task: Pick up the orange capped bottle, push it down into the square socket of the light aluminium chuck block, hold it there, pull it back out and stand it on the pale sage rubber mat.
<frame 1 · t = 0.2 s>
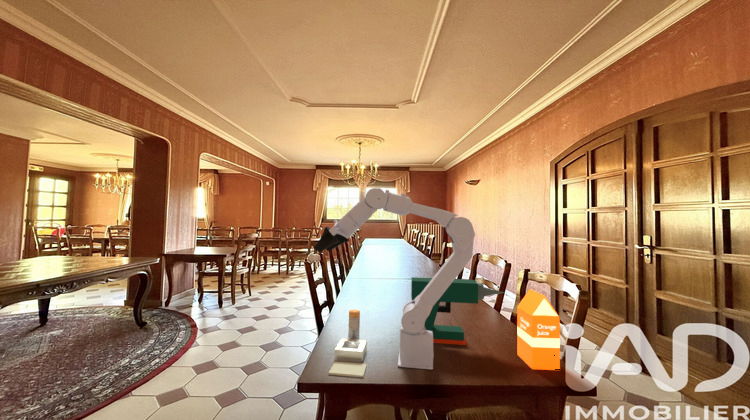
hand: (321, 249, 87), 31 cm above the table, tool tilted 45°, fingers open, 7 cm apart
power tool: (456, 340, 97), on the table
orange capped bottle: (353, 342, 93), on the table
orange juice: (537, 362, 83), on the table
key mat: (348, 370, 76), on the table
chuck block: (351, 355, 84), on the table
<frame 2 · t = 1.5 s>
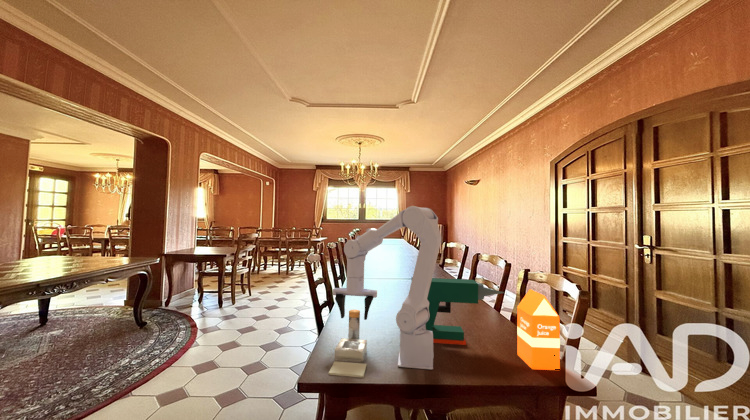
hand: (354, 318, 94), 8 cm above the table, tool pointing down, fingers open, 7 cm apart
nothing on the table moved.
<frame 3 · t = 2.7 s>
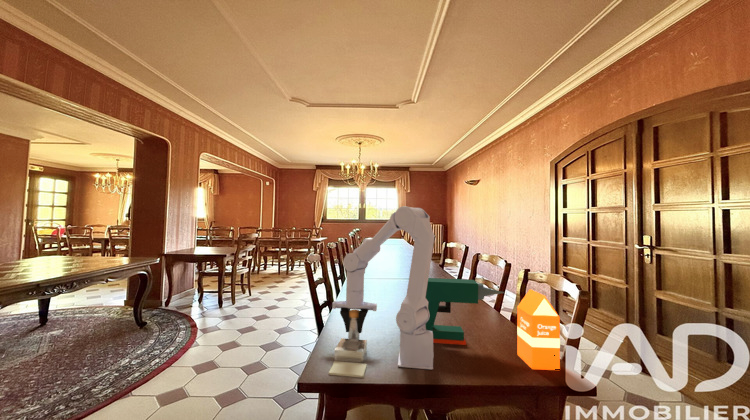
hand: (354, 331, 94), 3 cm above the table, tool pointing down, fingers closed on orange capped bottle, 4 cm apart
orange capped bottle: (353, 342, 93), on the table, touching gripper
everything else where it was.
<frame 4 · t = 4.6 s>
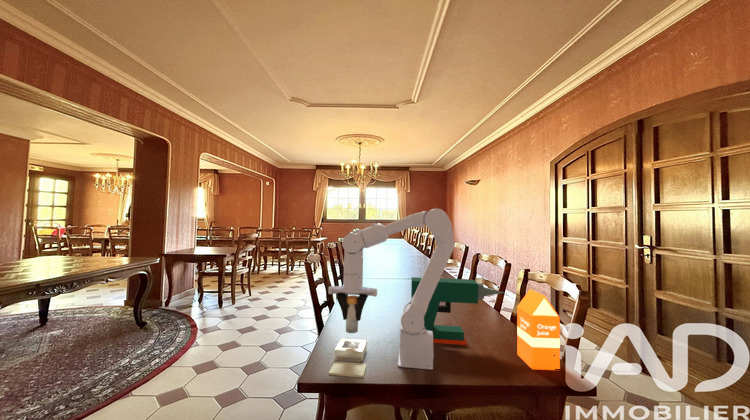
hand: (352, 319, 85), 10 cm above the table, tool pointing down, fingers closed on orange capped bottle, 4 cm apart
orange capped bottle: (351, 330, 85), point 7 cm above the table, touching gripper
everything else where it was.
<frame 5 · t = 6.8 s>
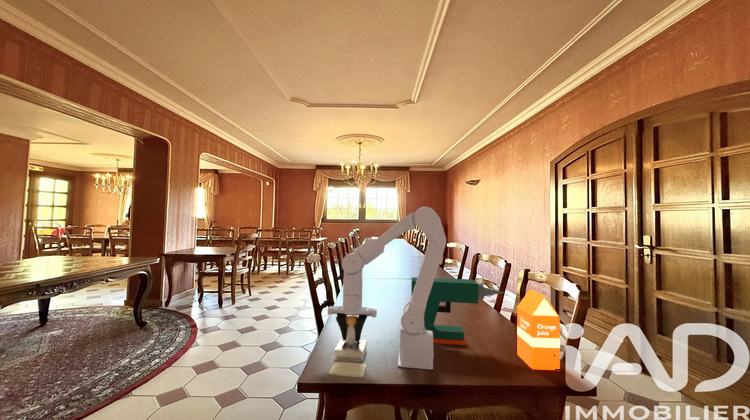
hand: (351, 339, 84), 4 cm above the table, tool pointing down, fingers closed on orange capped bottle, 4 cm apart
orange capped bottle: (351, 351, 84), point 1 cm above the table, touching gripper
everything else where it was.
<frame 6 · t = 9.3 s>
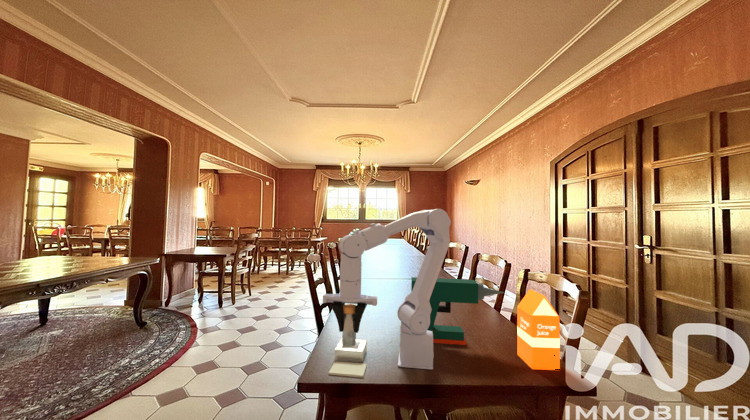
hand: (349, 330, 76), 10 cm above the table, tool pointing down, fingers closed on orange capped bottle, 4 cm apart
orange capped bottle: (348, 344, 76), point 7 cm above the table, touching gripper
everything else where it was.
when the fingers open (5 cm above the table, at t = 11.2 s): orange capped bottle stays where it is, resting on key mat.
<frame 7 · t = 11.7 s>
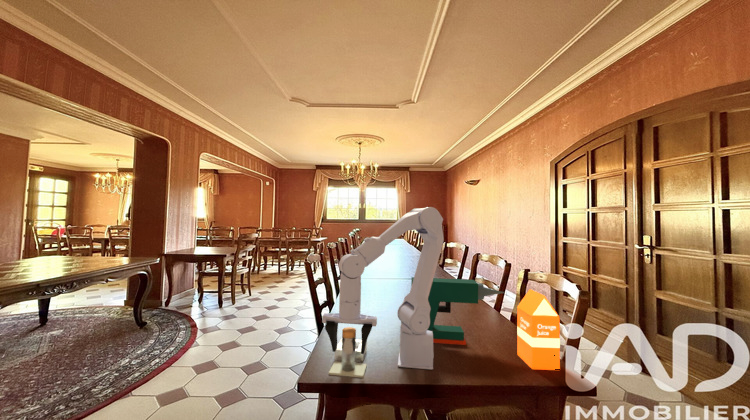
hand: (348, 351, 76), 5 cm above the table, tool pointing down, fingers open, 7 cm apart
orange capped bottle: (348, 368, 76), point 1 cm above the table, touching key mat
everything else where it was.
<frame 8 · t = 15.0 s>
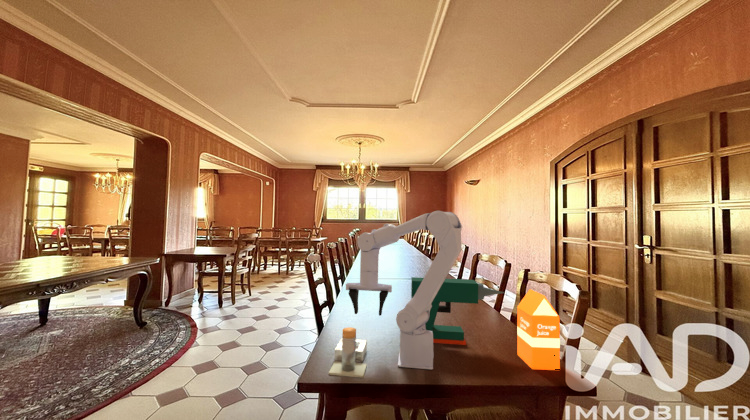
hand: (368, 313, 90), 10 cm above the table, tool pointing down, fingers open, 7 cm apart
nothing on the table moved.
at the end: orange capped bottle inside the target area (0.2 cm from its centre), point 0.5 cm above the table; orange capped bottle tilted 0°; the gripper is holding nothing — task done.
